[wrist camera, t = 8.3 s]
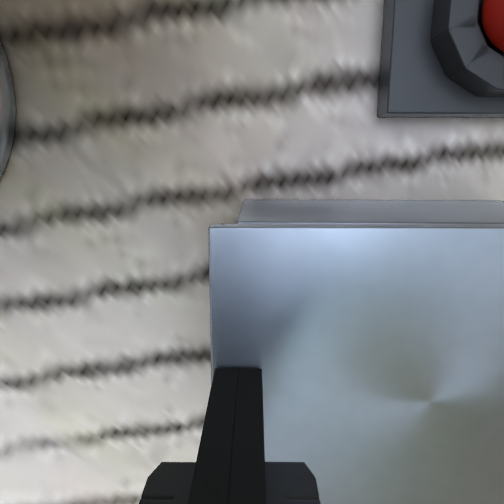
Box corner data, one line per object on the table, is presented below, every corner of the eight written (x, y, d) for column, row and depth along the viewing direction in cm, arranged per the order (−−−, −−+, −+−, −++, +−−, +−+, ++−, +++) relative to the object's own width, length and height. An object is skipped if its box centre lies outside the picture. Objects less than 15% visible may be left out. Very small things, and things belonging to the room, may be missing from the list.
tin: (244, 395, 25) (237, 520, 16) (244, 199, 22) (236, 221, 14) (474, 397, 24) (593, 524, 16) (499, 200, 22) (655, 223, 13)
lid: (215, 531, 16) (213, 550, 15) (210, 223, 13) (208, 227, 12) (593, 525, 16) (612, 544, 15) (656, 223, 13) (682, 227, 13)
